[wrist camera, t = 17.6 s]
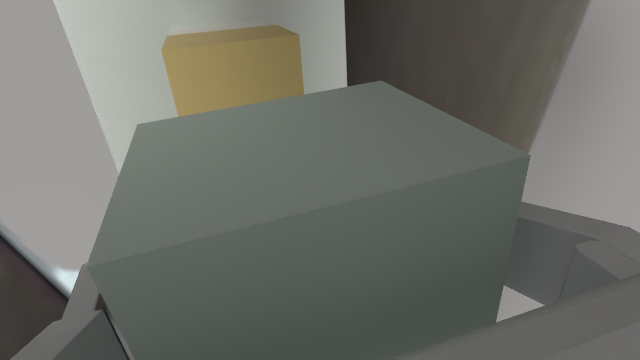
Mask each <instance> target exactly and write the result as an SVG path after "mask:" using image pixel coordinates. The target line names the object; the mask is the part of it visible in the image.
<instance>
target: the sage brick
mask: <svg viewBox="0 0 640 360" xmlns="http://www.w3.org/2000/svg"><path fill="white" fill-rule="evenodd" d="M529 160H530V155H529V154H527V153H525V152H523V151H521V150H519V149H517V148H515V147H513V146H511V145H509V144H507V143H505V142H503V141H501V140H499V139H497V138H495V137H493V136H491V135H489V134H487V133H485V132H483V131H481V130H479V129H477V128H475V127H473V126H471V125H469V124H467V123H465V122H463V121H461V120H459V119H457V118H455V117H453V116H451V115H449V114H447V113H445V112H443V111H441V110H439V109H437V108H435V107H433V106H431V105H429V104H427V103H425V102H423V101H421V100H419V99H417V98H415V97H413V96H411V95H409V94H407V93H405V92H403V91H401V90H399V89H397V88H395V87H393V86H391V85H389V84H387V83H385V82H383V81H377V82H371V83H366V84H360V85H354V86H349V87H343V88H338V89H332V90H326V91H321V92H315V93H309V94H304V95H298V96H293V97H287V98H281V99H276V100H270V101H265V102H259V103H253V104H248V105H242V106H236V107H231V108H225V109H220V110H214V111H208V112H203V113H197V114H191V115H186V116H180V117H175V118H169V119H163V120H158V121H152V122H147V123H141V124H137V127H136V129H135V132H134V135H133V138H132V141H131V143H130V146H129V149H128V152H127V155H126V157H125V160H124V163H123V166H122V169H121V171H120V174H119V177H118V180H117V183H116V185H115V188H114V191H113V194H112V197H111V199H110V202H109V205H108V208H107V211H106V214H105V216H104V219H103V222H102V225H101V228H100V230H99V233H98V236H97V239H96V241H95V244H94V247H93V250H92V253H91V255H90V258H89V261H88V264H87V269H88V271H89V273H90V275H91V276H92V278H93V280H94V282H95V284H96V286H97V288H98V290H99V292H100V294H101V296H102V297H103V299H104V301H105V303H106V305H107V307H108V309H109V311H110V313H111V315H112V317H113V318H114V320H115V322H116V324H117V326H118V328H119V330H120V332H121V334H122V336H123V338H124V339H125V341H126V343H127V345H128V347H129V349H130V351H131V353H132V355H133V357H134V359H135V360H390V359H393V358H396V357H398V356H401V355H404V354H407V353H410V352H413V351H416V350H419V349H421V348H424V347H427V346H430V345H433V344H436V343H439V342H442V341H445V340H447V339H450V338H453V337H456V336H459V335H462V334H465V333H468V332H470V331H473V330H476V329H479V328H482V327H485V326H488V325H491V324H494V323H496V319H497V314H498V309H499V304H500V299H501V295H502V290H503V285H504V280H505V276H506V271H507V266H508V261H509V256H510V252H511V247H512V242H513V237H514V232H515V228H516V223H517V218H518V213H519V208H520V204H521V199H522V194H523V189H524V184H525V180H526V175H527V170H528V165H529Z"/></svg>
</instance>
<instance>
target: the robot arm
mask: <svg viewBox="0 0 640 360" xmlns="http://www.w3.org/2000/svg"><path fill="white" fill-rule="evenodd" d="M87 264H88V262H86V263H85V264H84V265H82V267H81V270H80V272H79V275H78V278H77V280H76V283H75V285H74V288H73V291H72V293H71V296H70V299H69V301H68V304H67V306H66V309H65V312H64V314H63V317H62V319H61V320H59V321H55V322H52V323H51V324H50V325H49V326H48V327H47V328H46V329H44V330H43V331H42V332H41V333H40V334H39V335H38V336H37V337H35V338H34V339H33V340H32V341H31V342H30V343H29V344H27V345H26V346H25V347H24V348H23V349H22V350H21V351H20V352H18V353H17V354H16V355H15V356H14V357H13V358H12V359H10V360H135V359H134V357H133V355H132V353H131V351H130V349H129V347H128V345H127V343H126V341H125V339H124V338H123V336H122V334H121V332H120V330H119V328H118V326H117V324H116V322H115V320H114V318H113V317H112V315H111V313H110V311H109V309H108V307H107V305H106V303H105V301H104V299H103V297H102V296H101V294H100V292H99V290H98V288H97V286H96V284H95V282H94V280H93V278H92V276H91V275H90V273H89V271H88V269H87ZM504 285H505V286H507V287H509V288H511V289H513V290H515V291H517V292H519V293H521V294H523V295H525V296H527V297H529V298H531V299H534V300H536V301H537V302H539V303H541V304H544V305H545V306H543V307H540V308H537V309H534V310H531V311H528V312H525V313H523V314H520V315H517V316H514V317H511V318H508V319H505V320H502V321H500V322H496V323H494V324H491V325H488V326H485V327H482V328H479V329H476V330H473V331H470V332H468V333H465V334H462V335H459V336H456V337H453V338H450V339H447V340H445V341H442V342H439V343H436V344H433V345H430V346H427V347H424V348H421V349H419V350H416V351H413V352H410V353H407V354H404V355H401V356H398V357H396V358H393V359H390V360H640V233H639V232H637V231H635V230H633V229H632V228H630V227H626V226H622V225H617V224H614V223H609V222H605V221H601V220H596V219H592V218H588V217H584V216H580V215H575V214H571V213H567V212H563V211H559V210H554V209H550V208H546V207H542V206H537V205H533V204H529V203H525V202H521V204H520V208H519V213H518V218H517V223H516V228H515V232H514V237H513V242H512V247H511V252H510V256H509V261H508V266H507V271H506V276H505V280H504Z"/></svg>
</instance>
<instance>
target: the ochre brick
mask: <svg viewBox="0 0 640 360" xmlns="http://www.w3.org/2000/svg"><path fill="white" fill-rule="evenodd" d="M161 52H162V56H163V59H164V63H165V67H166V71H167V75H168V79H169V83H170V87H171V90H172V94H173V98H174V102H175V106H176V110H177V114H178V117H180V116H186V115H191V114H197V113H203V112H208V111H214V110H220V109H225V108H231V107H236V106H242V105H248V104H253V103H259V102H265V101H270V100H276V99H281V98H287V97H293V96H298V95H304V85H303V73H302V61H301V49H300V37H299V35H298V34H296V33H294V32H292V31H290V30H288V29H286V28H283V27H281V26H279V25H268V26H258V27H248V28H238V29H229V30H219V31H209V32H199V33H189V34H180V35H170V36H167V37H166V39H165V42H164V44H163V47H162V49H161Z"/></svg>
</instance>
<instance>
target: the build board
mask: <svg viewBox="0 0 640 360" xmlns="http://www.w3.org/2000/svg"><path fill="white" fill-rule="evenodd" d="M53 1H54V4H55V6H56V9H57V11H58V14H59V17H60V19H61V22H62V25H63V27H64V30H65V32H66V35H67V38H68V40H69V43H70V46H71V49H72V51H73V54H74V57H75V59H76V62H77V64H78V67H79V69H80V72H81V75H82V78H83V80H84V83H85V86H86V88H87V91H88V94H89V96H90V99H91V101H92V104H93V107H94V109H95V112H96V114H97V117H98V120H99V123H100V125H101V128H102V131H103V133H104V136H105V139H106V141H107V144H108V147H109V149H110V151H111V154H112V157H113V159H114V162H115V165H116V167H117V170H118V173H119V174H120V171H121V169H122V166H123V163H124V160H125V157H126V155H127V152H128V149H129V146H130V143H131V141H132V138H133V135H134V132H135V129H136V127H137V124H141V123H147V122H152V121H158V120H163V119H169V118H175V117H178V114H177V110H176V106H175V102H174V98H173V94H172V90H171V87H170V83H169V79H168V75H167V71H166V67H165V63H164V59H163V56H162V52H161V49H162V47H163V44H164V42H165V39H166V37H167V36H170V35H180V34H189V33H199V32H209V31H219V30H229V29H238V28H248V27H258V26H268V25H279V26H281V27H283V28H286V29H288V30H290V31H292V32H294V33H296V34H298V35H299V37H300V49H301V61H302V73H303V85H304V94H309V93H315V92H321V91H326V90H332V89H338V88H343V87H347V69H346V40H345V12H344V0H53Z"/></svg>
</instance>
